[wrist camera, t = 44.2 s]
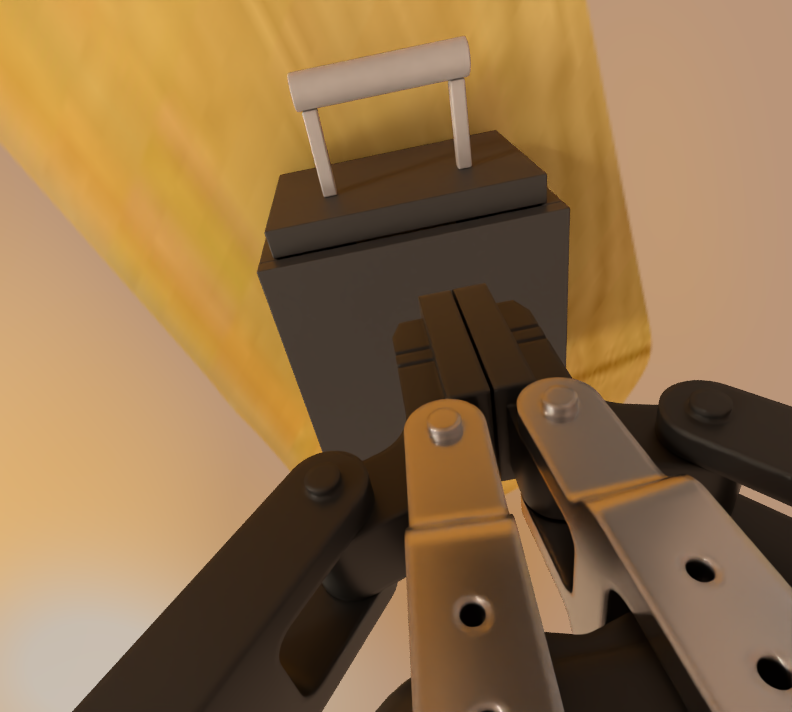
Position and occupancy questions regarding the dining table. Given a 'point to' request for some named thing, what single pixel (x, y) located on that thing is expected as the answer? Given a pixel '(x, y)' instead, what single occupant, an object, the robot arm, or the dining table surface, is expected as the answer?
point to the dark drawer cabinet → (403, 309)
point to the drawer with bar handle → (395, 160)
